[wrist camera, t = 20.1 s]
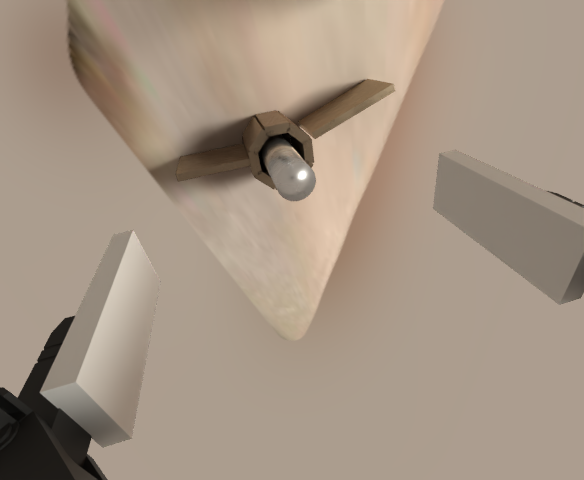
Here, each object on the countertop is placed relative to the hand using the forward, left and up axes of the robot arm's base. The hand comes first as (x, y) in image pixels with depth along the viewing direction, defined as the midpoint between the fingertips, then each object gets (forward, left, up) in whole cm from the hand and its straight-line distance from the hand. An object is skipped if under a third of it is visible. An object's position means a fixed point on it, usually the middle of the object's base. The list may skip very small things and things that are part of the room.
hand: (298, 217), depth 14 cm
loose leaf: (+2, +12, -29) cm, 31 cm away
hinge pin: (+4, +3, -29) cm, 30 cm away
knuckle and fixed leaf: (+4, -1, -29) cm, 29 cm away
